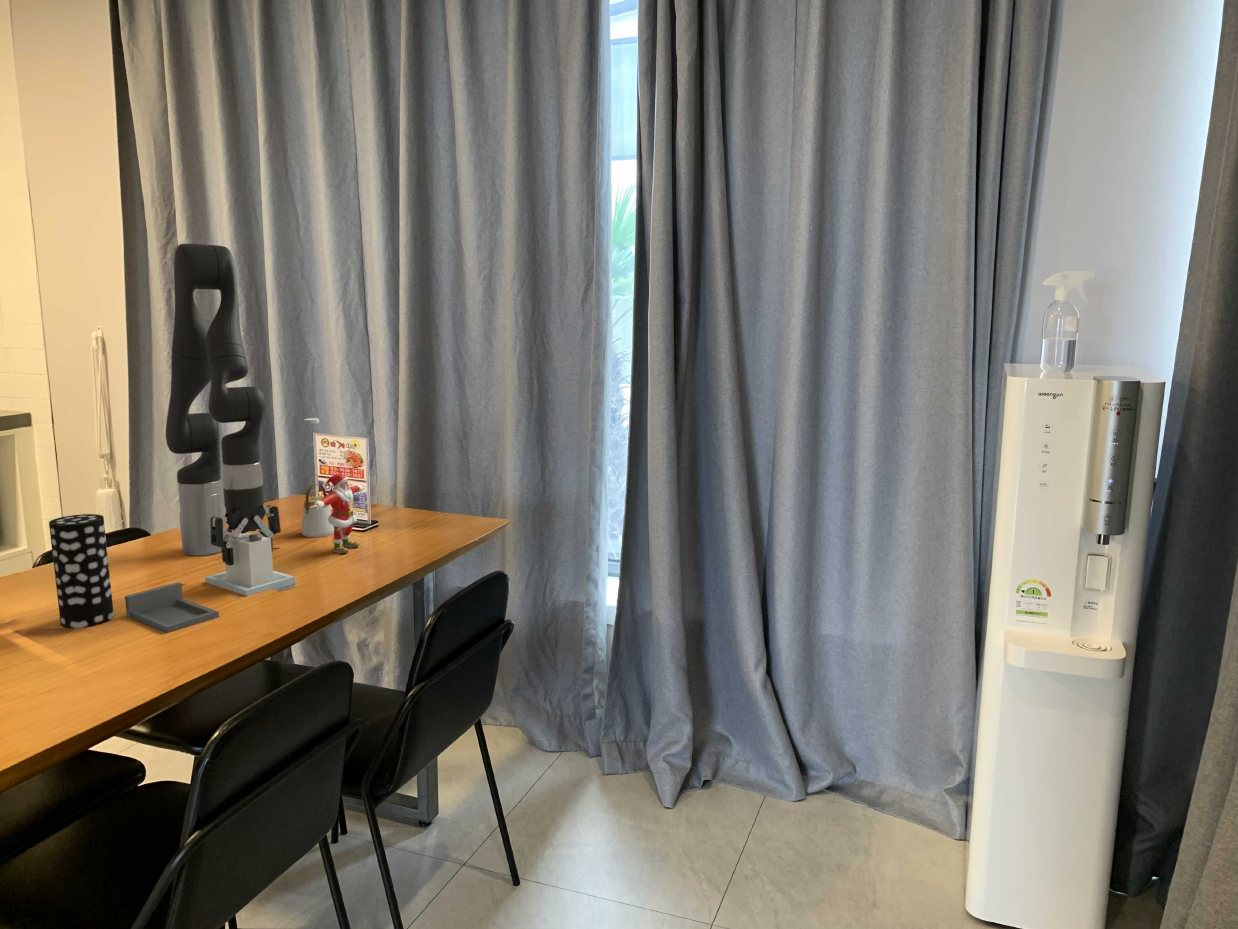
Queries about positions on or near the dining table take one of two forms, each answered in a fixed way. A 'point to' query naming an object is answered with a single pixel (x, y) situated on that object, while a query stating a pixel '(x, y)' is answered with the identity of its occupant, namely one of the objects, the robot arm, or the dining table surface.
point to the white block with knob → (251, 561)
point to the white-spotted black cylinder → (81, 570)
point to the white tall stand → (315, 519)
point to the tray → (278, 584)
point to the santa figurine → (340, 511)
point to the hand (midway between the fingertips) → (248, 559)
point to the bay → (166, 608)
